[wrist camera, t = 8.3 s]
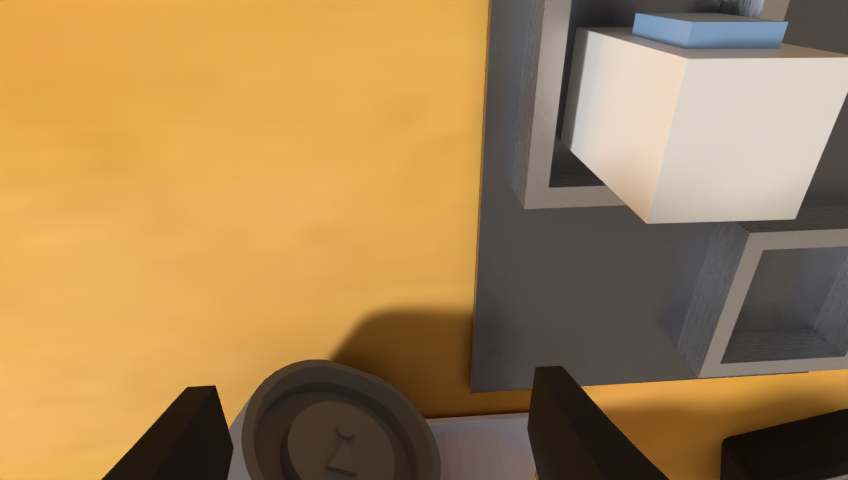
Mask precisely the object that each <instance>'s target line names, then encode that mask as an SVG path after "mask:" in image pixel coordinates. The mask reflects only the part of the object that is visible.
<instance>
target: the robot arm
mask: <svg viewBox="0 0 848 480" xmlns="http://www.w3.org/2000/svg"><path fill="white" fill-rule="evenodd" d="M425 420H426V422H427V424H428V425H429V427H430V429H431V431H432V433H433V436H434V438H435V440H436V443H437V447H438V450H439V455H440V459H441V478H440V480H536V476H535V473H536V470H537V474H538V477H539V480H669V479H668V478H667V477H666V476H665V475H664V474H663V473H662V472H661V471H660V470H659V469H658V468H657V467H656V466H655V465H654V464H652V463H651V462H650V461H649V460H648V459H647V458H646V457H645V456H644V455H643V454H642V453H641V452H640V451H639V450H638V449H637V448H636V447H635V446H634V445H633V444H632V442H631V441H630V440H629V439H628V438H627V437H626V436H625V435H624V434H623V433H622V432H621V431H620V430H619V429H618V428H617V427H616V426H615V425H614V424H613V423H612V422H611V420H610V419H609V418H608V417H607V416H606V415H605V414H604V413H603V412H602V411H601V409H600V408H599V407H598V406H597V405H596V404H595V403H594V402H593V401H592V399H591V398H590V397H589V396H588V395H587V394H586V393H585V391H584V390H583V389H582V388H581V387H580V386H579V384H578V383H577V382H576V381H575V380H574V379H573V378H572V376H571V375H570V374H569V373H568V372H567V371H566V369H565V368H564V367H562V366H544V367H535V373H534V380H533V388H532V395H531V402H530V410H529V413H514V414H498V415H482V416H466V417H450V418H435V419H425ZM233 449H234V447H233V443H232V440H231V436H230V433H229V430H228V426H227V423H226V420H225V416H224V413H223V410H222V406H221V403H220V399H219V396H218V393H217V389H216V386H198V387H187V388H186V389H185V390H184V391H183V392H182V393H181V394H180V395H179V396H178V397H177V399H176V400H175V401H174V402H173V403H172V404H171V405H170V406H169V407H168V408H167V410H166V411H165V412H164V413H163V414H162V415H161V416H160V417H159V418H158V419H157V421H156V422H155V423H154V424H153V425H152V426H151V427H150V428H149V429H148V430H147V432H146V433H145V434H144V435H143V436H142V437H141V438H140V439H139V440H138V441H137V443H136V444H135V445H134V446H133V447H132V448H131V449H130V450H129V451H128V452H127V453H126V454H125V455H124V456H123V457H122V458H121V460H120V461H119V462H118V463H117V464H116V465H115V466H114V467H113V468H112V469H111V470H110V471H109V472H108V473H107V474H106V475H105V476H104V477H103V479H102V480H227V479H228V474H229V469H230V464H231V459H232V454H233Z"/></svg>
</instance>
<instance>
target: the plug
mask: <svg viewBox="0 0 848 480" xmlns="http://www.w3.org/2000/svg"><path fill="white" fill-rule="evenodd" d="M787 25H788V22H785V21H777V20H769V19H760V18H752V17H744V16H736V15H728V14H719V13H636V15H635V21H634V26H633V27H577V28H576V35H575V42H574V49H573V56H572V63H571V70H570V77H569V84H568V91H567V98H566V105H565V112H564V119H563V126H562V133H561V140H560V141H561V142H562V143H563V144H564V145H565V146H566V147H567V148H568V149H569V150H570V151H571V152H572V153H573V154H574V155H576V156H577V157H578V158H579V159H580V160H581V161H582V162H583V163H584V164H585V165H586V166H587V167H588V168H589V169H590V170H591V171H592V172H593V173H594V174H595V175H596V176H597V177H598V178H599V179H601V180H602V181H603V182H604V183H605V184H606V185H607V186H608V187H609V188H610V189H611V190H612V191H613V192H614V193H615V194H616V195H617V196H618V197H619V198H620V199H621V200H622V201H623V202H624V203H626V204H627V205H628V206H629V207H630V208H631V209H632V210H633V211H634V212H635V213H636V214H637V215H638V216H639V217H640V218H641V219H642V220H643V221H644V222H645V223H646V224H656V223H689V222H722V221H755V220H788V219H795V218H796V216H797V213H798V211H799V208H800V206H801V204H802V201H803V199H804V196H805V194H806V192H807V189H808V187H809V184H810V182H811V179H812V177H813V175H814V172H815V170H816V167H817V165H818V163H819V160H820V158H821V155H822V153H823V150H824V148H825V146H826V143H827V141H828V138H829V136H830V134H831V131H832V129H833V126H834V124H835V122H836V119H837V117H838V114H839V112H840V109H841V107H842V105H843V102H844V100H845V97H846V95H847V93H848V55H846V54H840V53H834V52H829V51H823V50H818V49H812V48H806V47H801V46H795V45H789V44H784V43H782V40H783V37H784V34H785V31H786V28H787Z"/></svg>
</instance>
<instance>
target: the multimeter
mask: <svg viewBox="0 0 848 480" xmlns="http://www.w3.org/2000/svg"><path fill="white" fill-rule="evenodd" d="M720 480H848V409H845V410H840V411H836V412H832V413H828V414H824V415H820V416H815V417H811V418H807V419H803V420H799V421H795V422H791V423H786V424H782V425H778V426H774V427H770V428H766V429H761V430H757V431H753V432H749V433H745V434H741V435H737V436H732V437H729V438H727V439H725V440H724V441H723V443H722V453H721V478H720Z"/></svg>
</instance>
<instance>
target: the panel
mask: <svg viewBox="0 0 848 480" xmlns="http://www.w3.org/2000/svg"><path fill="white" fill-rule="evenodd" d="M636 13H719V14H728V15H736V16H744V17H752V18H760V19H769V20H777V21H785V22H788V25H787V28H786V31H785V34H784V37H783V40H782V43H784V44H789V45H795V46H801V47H806V48H812V49H818V50H823V51H829V52H834V53H840V54H846V55H848V0H489V7H488V27H487V47H486V67H485V88H484V108H483V128H482V148H481V168H480V189H479V209H478V229H477V249H476V269H475V289H474V310H473V330H472V350H471V370H470V389H471V393H477V392H493V391H510V390H527V389H532V388H533V380H534V373H535V367H544V366H562V367H564V368H565V369H566V371H567V372H568V373H569V374H570V375H571V376H572V378H573V379H574V380H575V381H576V382H577V383H578V384H579V386H593V385H609V384H626V383H643V382H659V381H676V380H692V379H709V378H726V377H742V376H759V375H775V374H792V373H808V372H809V371H822V370H839V369H848V93H847V95H846V97H845V100H844V102H843V105H842V107H841V109H840V112H839V114H838V117H837V119H836V122H835V124H834V126H833V129H832V131H831V134H830V136H829V138H828V141H827V143H826V146H825V148H824V150H823V153H822V155H821V158H820V160H819V163H818V165H817V167H816V170H815V172H814V175H813V177H812V179H811V182H810V184H809V187H808V189H807V192H806V194H805V196H804V199H803V201H802V204H801V206H800V208H799V211H798V213H797V216H796V218H795V219H788V220H755V221H722V222H689V223H656V224H646V223H645V222H644V221H643V220H642V219H641V218H640V217H639V216H638V215H637V214H636V213H635V212H634V211H633V210H632V209H631V208H630V207H629V206H628V205H627V204H626V203H624V202H623V201H622V200H621V199H620V198H619V197H618V196H617V195H616V194H615V193H614V192H613V191H612V190H611V189H610V188H609V187H608V186H607V185H606V184H605V183H604V182H603V181H602V180H601V179H599V178H598V177H597V176H596V175H595V174H594V173H593V172H592V171H591V170H590V169H589V168H588V167H587V166H586V165H585V164H584V163H583V162H582V161H581V160H580V159H579V158H578V157H577V156H576V155H574V154H573V153H572V152H571V151H570V150H569V149H568V148H567V147H566V146H565V145H564V144H563V143H562V142H561V141H560V140H561V133H562V126H563V119H564V112H565V105H566V98H567V91H568V84H569V77H570V70H571V63H572V56H573V49H574V42H575V35H576V28H577V27H633V26H634V21H635V15H636Z"/></svg>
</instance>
